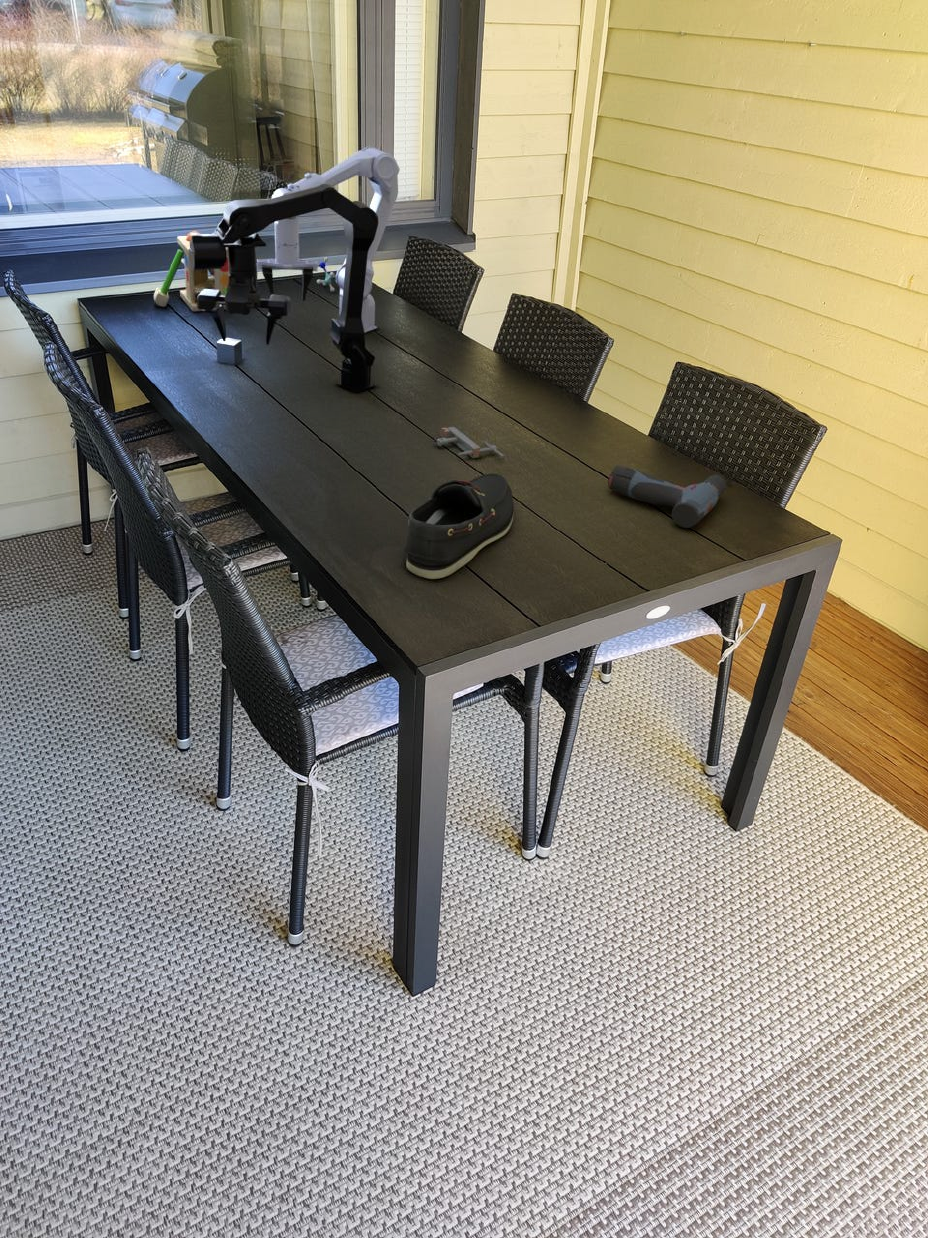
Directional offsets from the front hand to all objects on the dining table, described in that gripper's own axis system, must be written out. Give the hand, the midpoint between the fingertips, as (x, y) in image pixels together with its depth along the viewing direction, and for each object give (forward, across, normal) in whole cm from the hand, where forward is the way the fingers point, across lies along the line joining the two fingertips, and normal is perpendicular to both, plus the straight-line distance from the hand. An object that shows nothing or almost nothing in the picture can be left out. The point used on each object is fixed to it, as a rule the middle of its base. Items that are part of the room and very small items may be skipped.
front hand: (246, 342), depth 210 cm
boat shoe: (+12, +48, -57) cm, 75 cm away
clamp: (+12, +48, -21) cm, 54 cm away
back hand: (+2, +3, +41) cm, 41 cm away
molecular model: (+12, +8, +86) cm, 87 cm away
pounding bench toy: (+12, -25, +60) cm, 66 cm away
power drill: (+12, +87, -36) cm, 95 cm away
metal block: (+12, -8, +20) cm, 24 cm away
